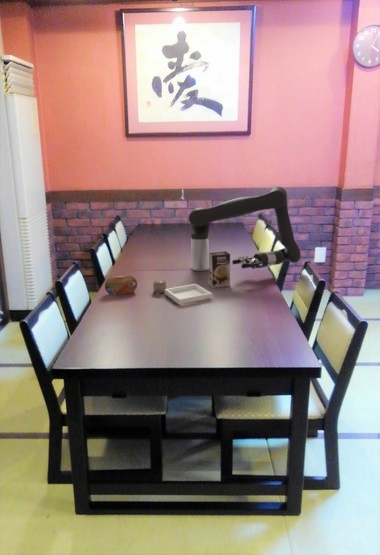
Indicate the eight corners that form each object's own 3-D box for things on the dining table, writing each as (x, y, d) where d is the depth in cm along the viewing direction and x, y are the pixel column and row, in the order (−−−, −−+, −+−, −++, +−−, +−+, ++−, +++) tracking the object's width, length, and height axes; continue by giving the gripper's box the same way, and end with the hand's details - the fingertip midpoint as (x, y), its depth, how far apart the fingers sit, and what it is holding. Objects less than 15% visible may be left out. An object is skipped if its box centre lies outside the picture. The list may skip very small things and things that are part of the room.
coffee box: (212, 288, 225) (212, 255, 220) (208, 284, 231) (208, 252, 226) (230, 286, 227) (230, 253, 222) (226, 282, 233) (225, 250, 228)
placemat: (165, 294, 218) (165, 293, 218) (193, 289, 224) (193, 288, 224) (181, 306, 203) (181, 305, 203) (212, 300, 209) (212, 299, 209)
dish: (164, 294, 217) (164, 289, 216) (195, 288, 224) (195, 283, 223) (179, 305, 203) (179, 299, 203) (211, 298, 210) (211, 293, 209)
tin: (105, 296, 219) (104, 278, 217) (105, 294, 222) (103, 277, 219) (137, 292, 223) (136, 275, 220) (136, 290, 226) (135, 273, 223)
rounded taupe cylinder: (151, 291, 224) (151, 281, 222) (163, 289, 226) (162, 279, 225) (156, 294, 219) (156, 284, 217) (168, 292, 221) (167, 282, 220)
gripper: (256, 249, 242) (229, 253, 236) (273, 255, 230) (245, 260, 223) (256, 263, 245) (229, 268, 238) (272, 270, 232) (245, 275, 226)
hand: (237, 264), depth 231 cm, fingers open, 8 cm apart
